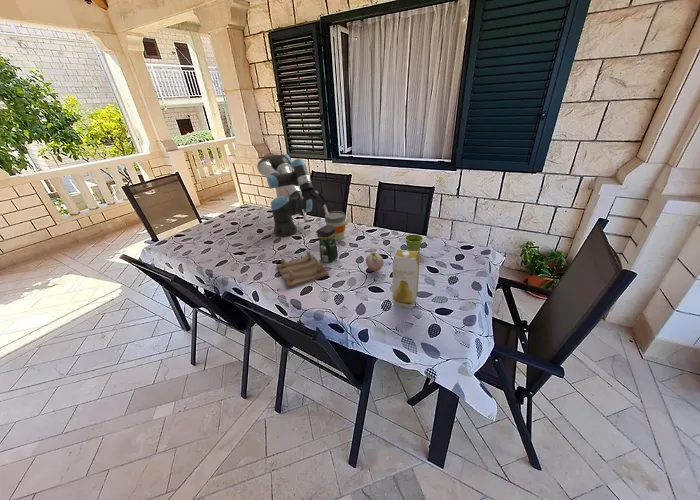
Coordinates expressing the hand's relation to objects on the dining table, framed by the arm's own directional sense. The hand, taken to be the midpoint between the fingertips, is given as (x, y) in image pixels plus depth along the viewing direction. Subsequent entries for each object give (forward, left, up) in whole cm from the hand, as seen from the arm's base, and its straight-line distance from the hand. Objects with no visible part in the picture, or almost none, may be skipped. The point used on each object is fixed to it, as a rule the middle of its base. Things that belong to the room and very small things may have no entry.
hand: (317, 218), depth 157 cm
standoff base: (+25, -20, -16) cm, 36 cm away
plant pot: (+41, +38, -16) cm, 58 cm away
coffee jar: (+21, -3, -16) cm, 27 cm away
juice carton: (+72, +8, -16) cm, 74 cm away
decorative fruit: (+45, +11, -16) cm, 49 cm away
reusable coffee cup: (-1, +12, -16) cm, 20 cm away
